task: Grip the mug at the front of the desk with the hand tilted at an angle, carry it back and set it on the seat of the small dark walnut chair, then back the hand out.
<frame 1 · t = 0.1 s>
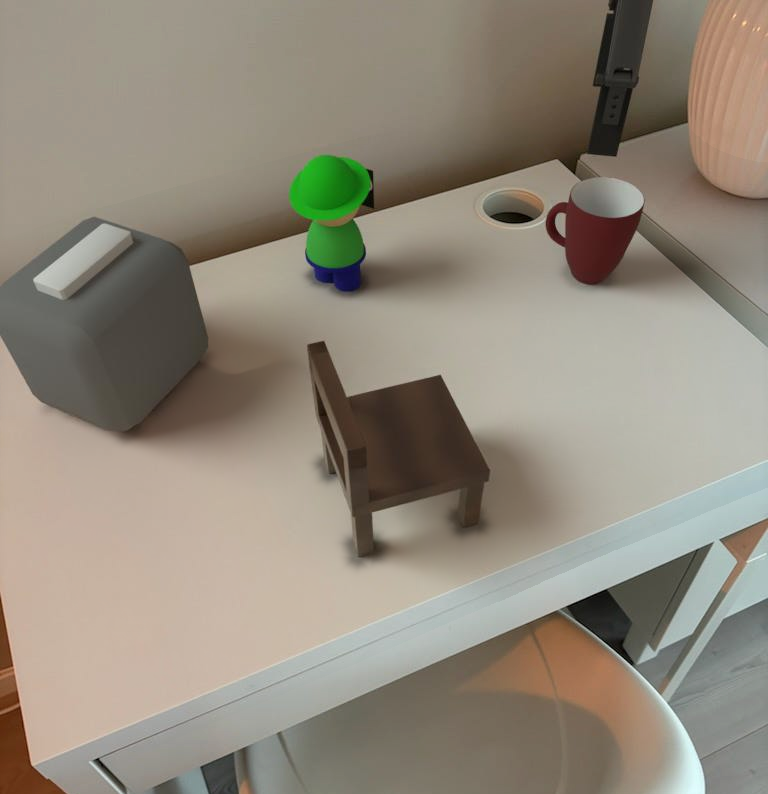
hand: (603, 118, 74), 19 cm above the table, tool pointing down, fingers open, 13 cm apart
mug: (578, 272, 90), on the table
toy: (336, 280, 90), on the table
alarm clock: (137, 383, 80), on the table
chair: (399, 492, 71), on the table
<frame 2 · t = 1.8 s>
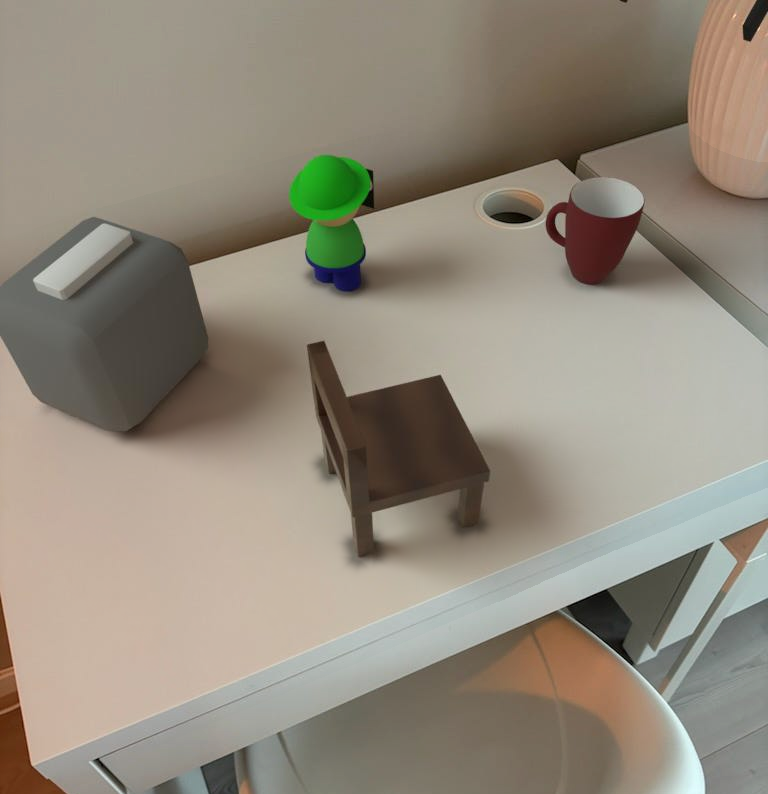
hand: (681, 14, 74), 25 cm above the table, tool tilted 45°, fingers open, 13 cm apart
nothing on the table moved.
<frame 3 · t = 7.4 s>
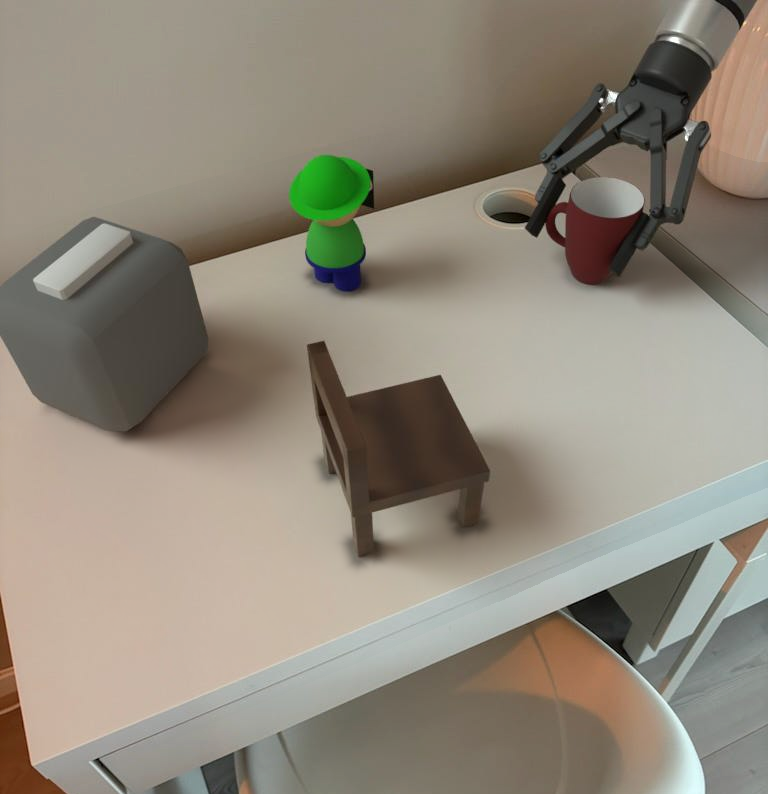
hand: (571, 252, 86), 4 cm above the table, tool tilted 45°, fingers closed on mug, 11 cm apart
mug: (578, 272, 90), on the table, touching gripper
everything else where it was.
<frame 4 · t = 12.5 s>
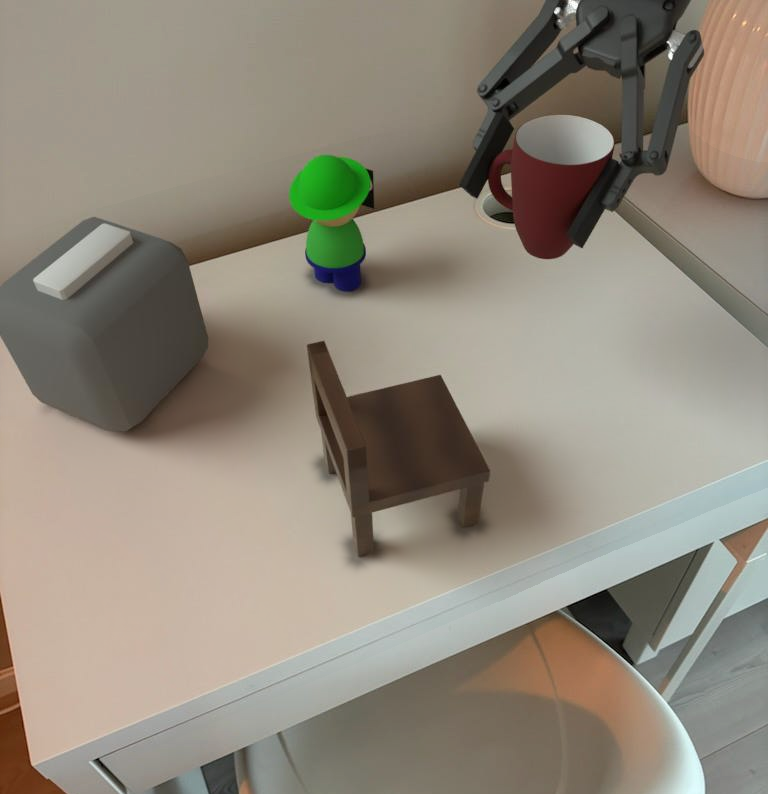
hand: (519, 216, 65), 19 cm above the table, tool tilted 45°, fingers closed on mug, 11 cm apart
mug: (532, 244, 69), point 15 cm above the table, touching gripper
everything else where it was.
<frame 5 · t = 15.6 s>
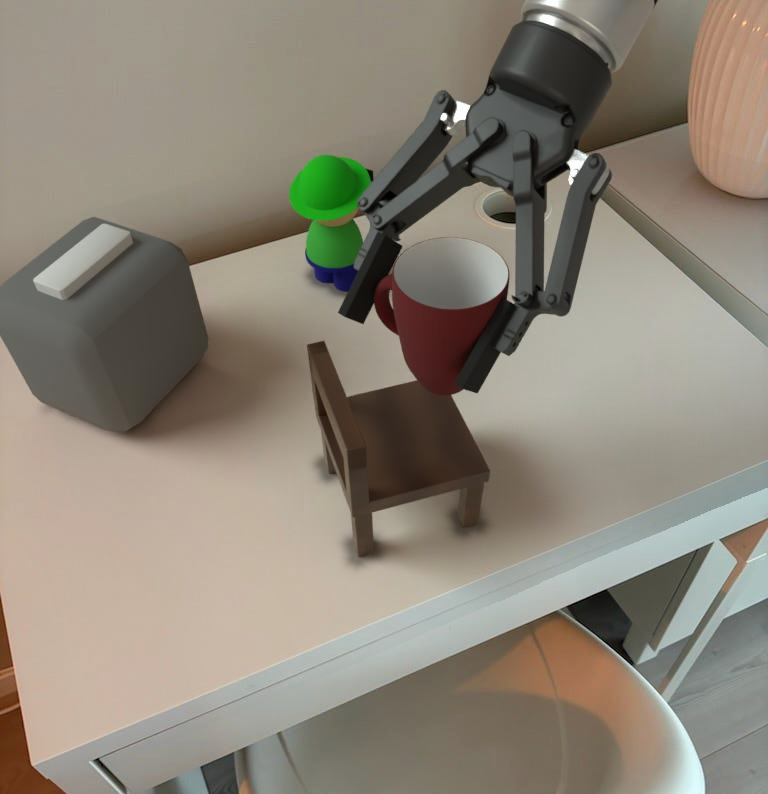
hand: (405, 352, 55), 19 cm above the table, tool tilted 45°, fingers closed on mug, 11 cm apart
mug: (429, 374, 60), point 14 cm above the table, touching gripper
everything else where it was.
when the fingers open (12 cm above the table, at t = 18.0 s): mug stays where it is, resting on chair.
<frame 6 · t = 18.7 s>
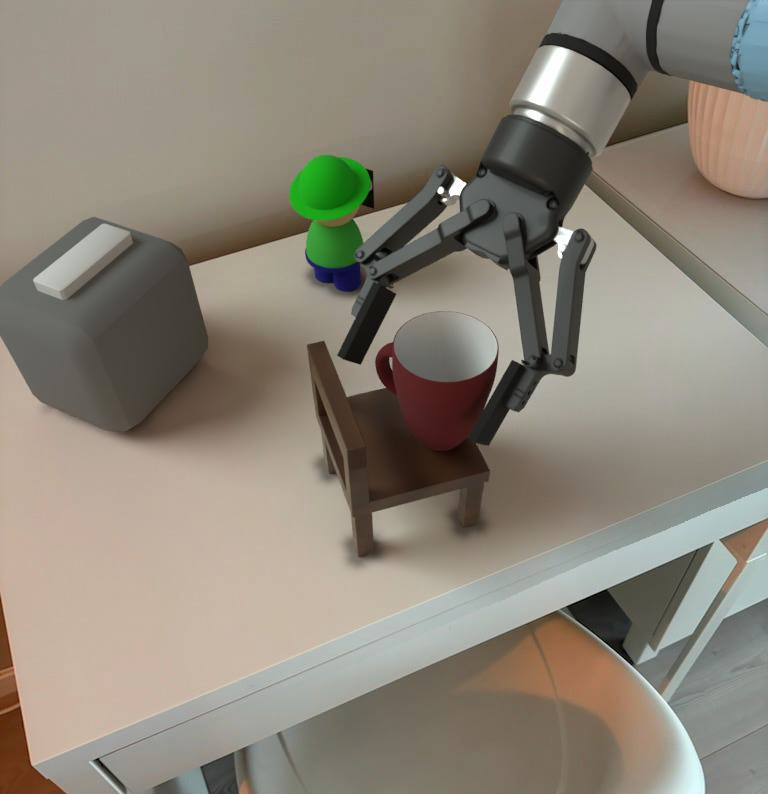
hand: (410, 399, 59), 13 cm above the table, tool tilted 45°, fingers open, 13 cm apart
mug: (426, 430, 65), point 8 cm above the table, touching chair
everything else where it was.
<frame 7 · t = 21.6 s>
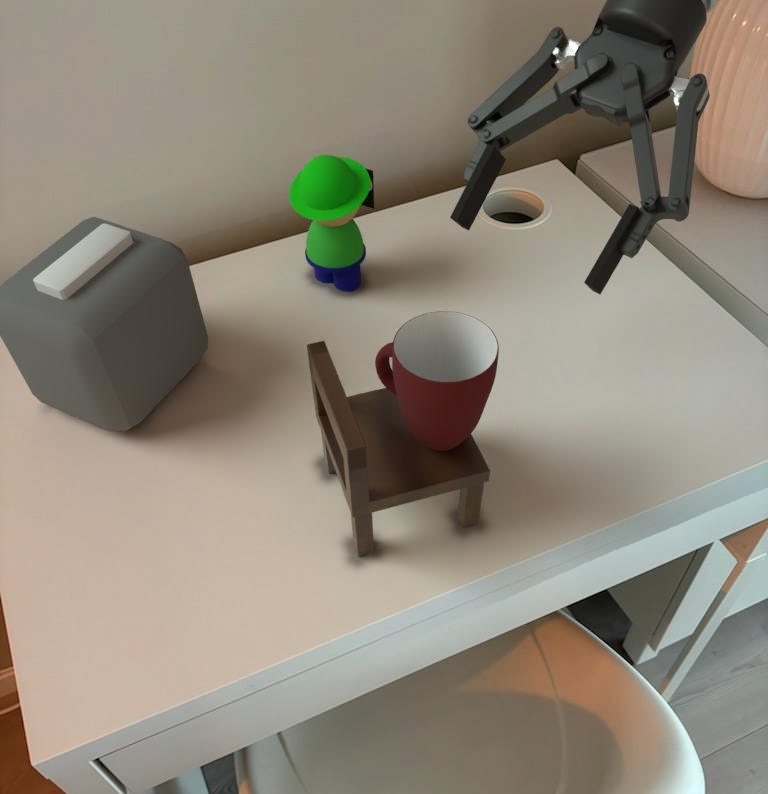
hand: (522, 255, 63), 18 cm above the table, tool tilted 45°, fingers open, 13 cm apart
nothing on the table moved.
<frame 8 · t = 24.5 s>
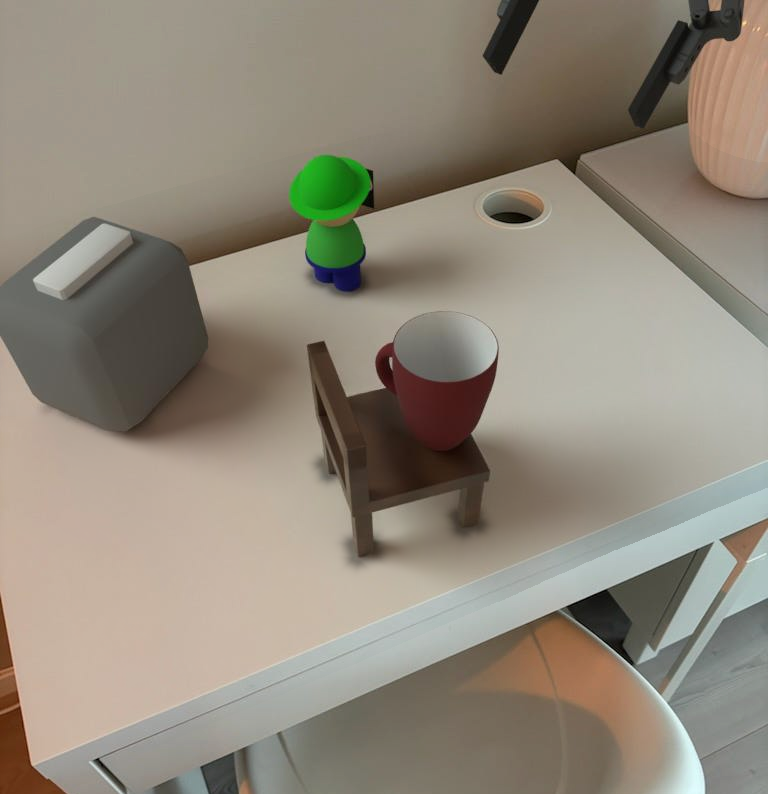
hand: (560, 91, 59), 28 cm above the table, tool tilted 45°, fingers open, 13 cm apart
nothing on the table moved.
at the end: mug inside the target area on the chair (0.8 cm from its centre), point 7.8 cm above the chair's base; mug tilted 0°; the gripper is holding nothing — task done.
